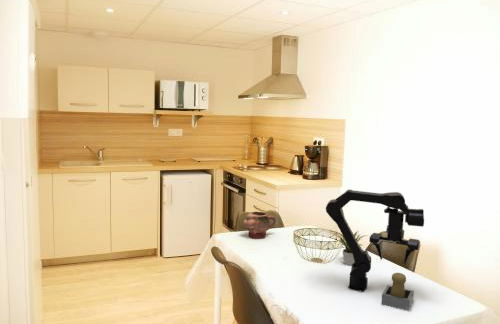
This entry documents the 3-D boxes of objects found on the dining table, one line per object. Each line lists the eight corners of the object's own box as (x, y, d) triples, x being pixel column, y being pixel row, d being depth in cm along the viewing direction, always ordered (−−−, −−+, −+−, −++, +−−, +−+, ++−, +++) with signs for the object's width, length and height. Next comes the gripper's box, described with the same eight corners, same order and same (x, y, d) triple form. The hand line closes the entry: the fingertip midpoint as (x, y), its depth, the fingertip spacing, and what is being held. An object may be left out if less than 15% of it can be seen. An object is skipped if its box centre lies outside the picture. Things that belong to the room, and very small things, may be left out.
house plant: (364, 259, 207) (366, 227, 205) (369, 269, 193) (371, 235, 191) (335, 257, 208) (337, 226, 206) (338, 267, 195) (340, 233, 193)
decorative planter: (269, 231, 251) (270, 209, 249) (279, 237, 240) (280, 214, 238) (239, 235, 242) (240, 212, 241) (248, 241, 231) (249, 217, 230)
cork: (396, 296, 163) (398, 269, 162) (409, 302, 158) (411, 275, 157) (385, 299, 161) (387, 272, 159) (397, 306, 155) (399, 278, 154)
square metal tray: (381, 304, 158) (381, 294, 157) (386, 294, 166) (387, 285, 166) (409, 311, 153) (409, 300, 152) (413, 300, 161) (413, 290, 161)
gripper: (423, 223, 168) (420, 260, 170) (376, 216, 177) (374, 251, 179) (419, 229, 158) (416, 268, 160) (370, 222, 167) (368, 259, 169)
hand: (393, 261), depth 167 cm, fingers open, 9 cm apart
